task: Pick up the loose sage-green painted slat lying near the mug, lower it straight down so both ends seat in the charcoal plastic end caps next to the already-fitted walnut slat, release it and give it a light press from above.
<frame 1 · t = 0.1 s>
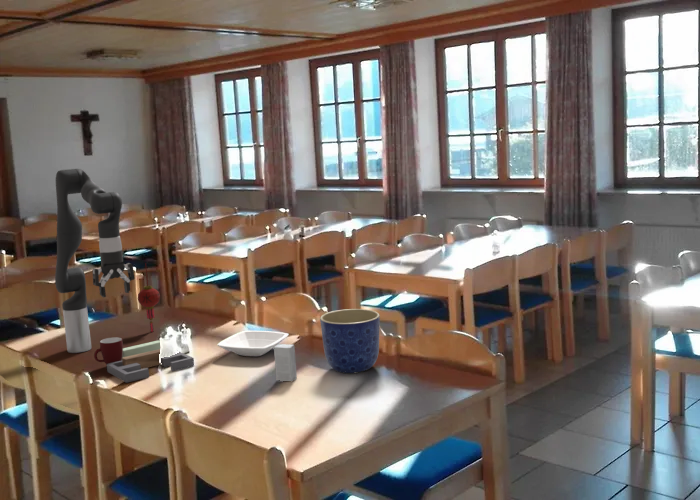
hand: (115, 294, 290), 29 cm above the table, fingers open, 8 cm apart
mug: (110, 367, 304), on the table
walnut slat: (145, 366, 303), on the table
sage slat: (142, 358, 314), on the table
lantern: (152, 332, 353), on the table
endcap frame: (150, 368, 299), on the table
bowl: (254, 353, 312), on the table
skincare box: (286, 380, 278), on the table
planter: (352, 369, 286), on the table
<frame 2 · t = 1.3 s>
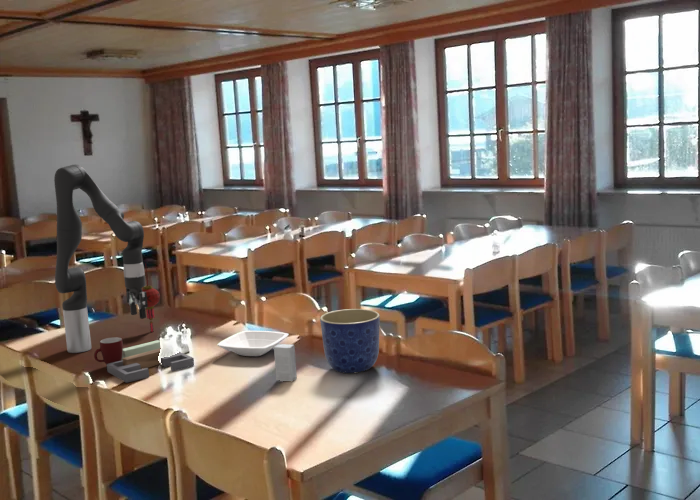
hand: (138, 316, 312), 16 cm above the table, fingers open, 8 cm apart
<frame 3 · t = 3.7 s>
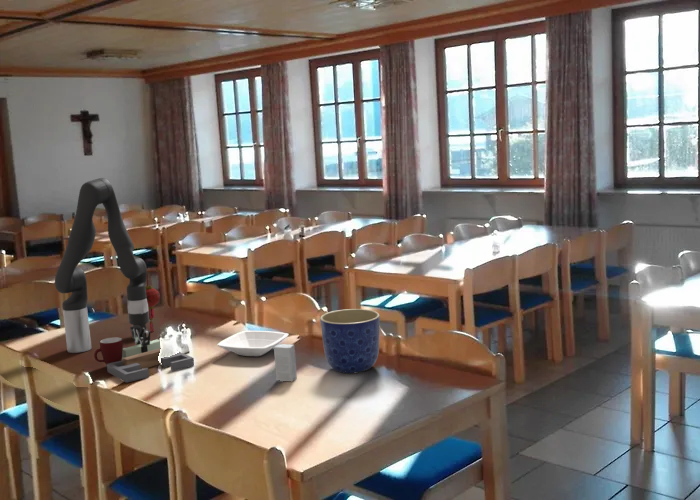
hand: (142, 354, 314), 1 cm above the table, fingers closed on sage slat, 4 cm apart
sage slat: (142, 357, 314), on the table, touching gripper
everything else where it was.
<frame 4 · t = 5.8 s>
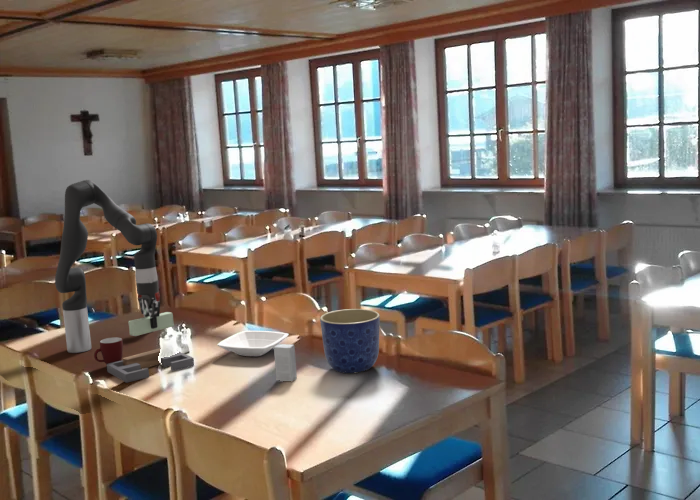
hand: (151, 326, 294), 16 cm above the table, fingers closed on sage slat, 4 cm apart
sage slat: (152, 330, 294), point 15 cm above the table, touching gripper
everything else where it was.
when the fingers open (2 cm above the table, at t = 8.2 s): sage slat stays where it is, on the table.
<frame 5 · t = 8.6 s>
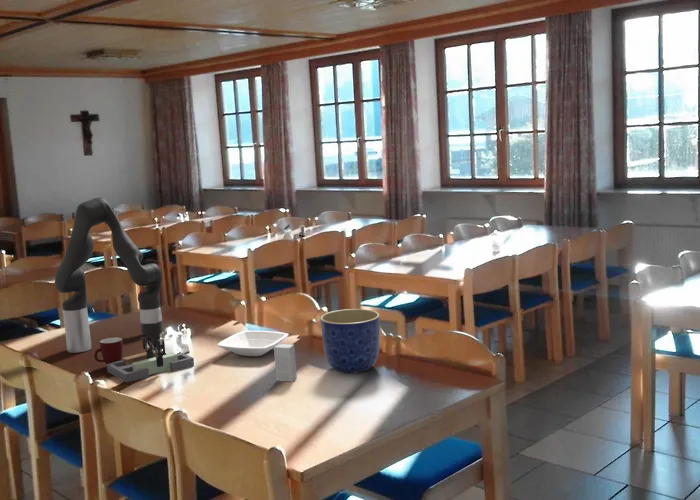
hand: (155, 363, 295), 3 cm above the table, fingers open, 8 cm apart
sage slat: (156, 372, 296), on the table
everything else where it was.
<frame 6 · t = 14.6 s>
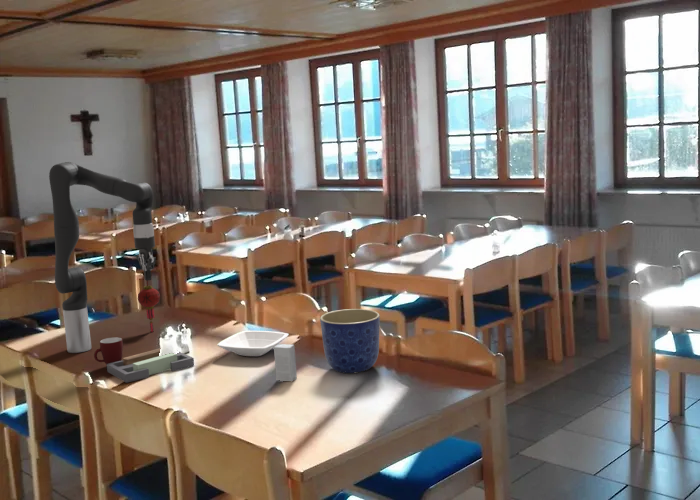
hand: (148, 280, 315), 29 cm above the table, fingers closed
nothing on the table moved.
at the end: sage slat 0.1 cm from the target spot on the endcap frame, point 0.0 cm above the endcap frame's base; sage slat tilted 0°; walnut slat moved 0.3 cm from its start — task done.
